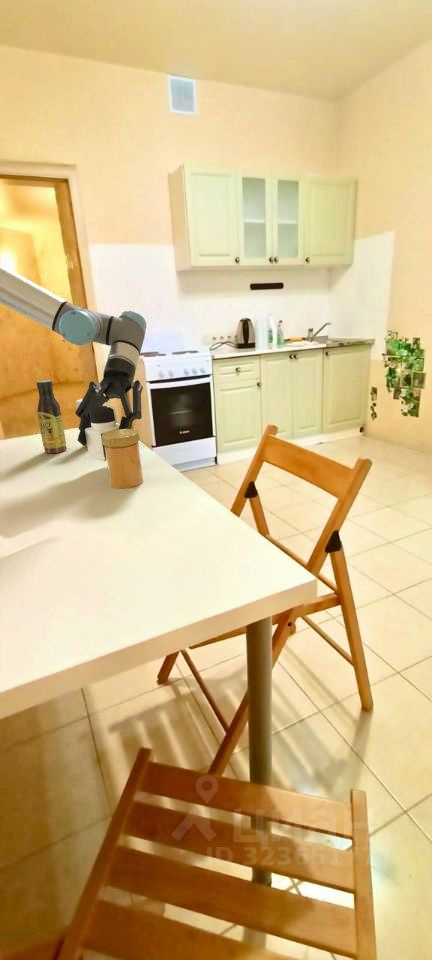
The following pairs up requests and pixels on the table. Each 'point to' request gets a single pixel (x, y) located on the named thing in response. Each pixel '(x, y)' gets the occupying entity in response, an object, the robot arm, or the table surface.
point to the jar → (124, 466)
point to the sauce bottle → (50, 419)
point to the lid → (120, 437)
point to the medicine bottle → (100, 430)
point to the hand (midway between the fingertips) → (100, 443)
